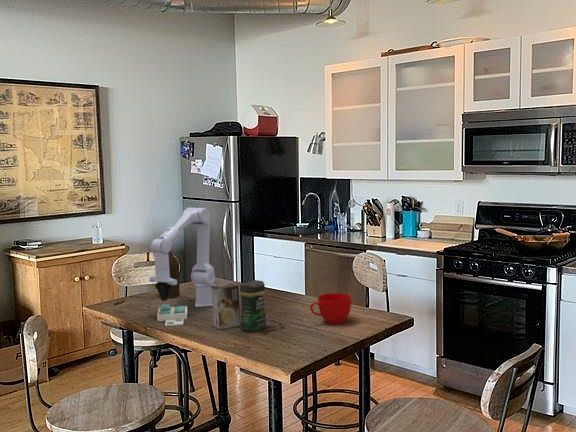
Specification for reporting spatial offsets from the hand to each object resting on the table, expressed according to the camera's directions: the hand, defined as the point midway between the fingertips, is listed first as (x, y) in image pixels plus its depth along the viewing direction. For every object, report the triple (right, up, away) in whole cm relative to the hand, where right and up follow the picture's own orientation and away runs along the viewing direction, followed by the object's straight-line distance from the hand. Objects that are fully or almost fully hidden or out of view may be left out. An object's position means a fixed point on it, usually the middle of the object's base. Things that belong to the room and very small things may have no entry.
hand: (164, 300), depth 244 cm
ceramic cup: (+68, -7, -13) cm, 69 cm away
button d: (0, -7, +1) cm, 7 cm away
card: (+5, -8, -5) cm, 11 cm away
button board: (+3, -7, +4) cm, 9 cm away
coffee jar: (+38, -9, -17) cm, 43 cm away
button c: (-1, -5, +6) cm, 8 cm away
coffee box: (+27, -8, -12) cm, 31 cm away
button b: (+6, -6, +2) cm, 8 cm away
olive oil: (-6, -4, +40) cm, 41 cm away
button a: (+5, -6, +8) cm, 11 cm away
